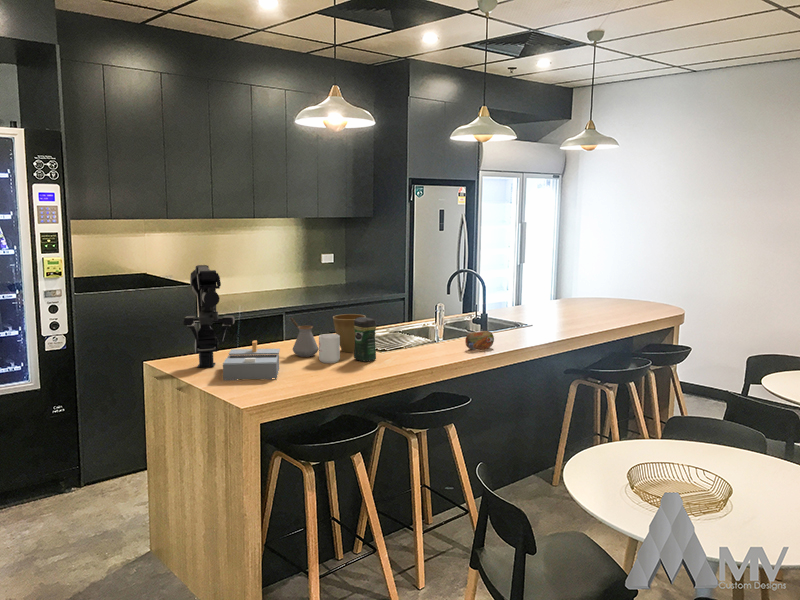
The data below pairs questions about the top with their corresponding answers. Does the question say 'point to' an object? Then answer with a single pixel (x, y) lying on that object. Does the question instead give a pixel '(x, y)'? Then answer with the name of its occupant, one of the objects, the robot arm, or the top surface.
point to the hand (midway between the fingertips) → (209, 342)
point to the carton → (251, 369)
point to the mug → (329, 348)
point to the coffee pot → (304, 341)
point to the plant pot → (346, 330)
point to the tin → (479, 340)
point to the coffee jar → (364, 339)
